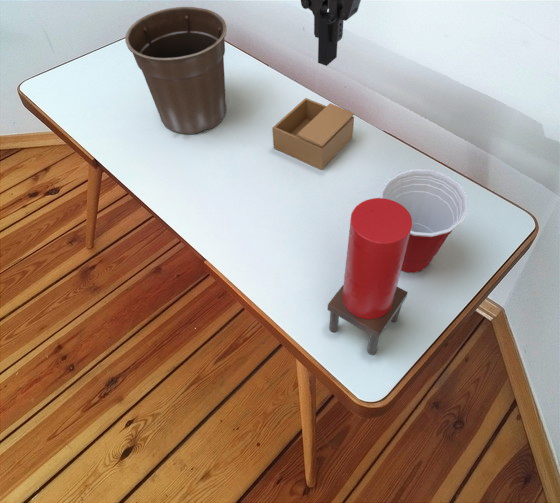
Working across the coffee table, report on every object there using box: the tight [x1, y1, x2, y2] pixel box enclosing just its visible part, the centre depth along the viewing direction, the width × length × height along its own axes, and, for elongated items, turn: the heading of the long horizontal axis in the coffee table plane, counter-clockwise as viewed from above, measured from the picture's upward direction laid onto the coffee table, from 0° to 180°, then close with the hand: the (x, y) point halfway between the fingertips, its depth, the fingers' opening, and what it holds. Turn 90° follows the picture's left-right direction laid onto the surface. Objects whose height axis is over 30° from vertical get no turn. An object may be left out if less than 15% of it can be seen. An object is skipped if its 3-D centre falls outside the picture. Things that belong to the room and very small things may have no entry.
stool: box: [327, 283, 409, 356], centre depth 64 cm, size 7×7×6 cm
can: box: [342, 197, 412, 319], centre depth 56 cm, size 6×6×14 cm
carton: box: [272, 97, 355, 171], centre depth 87 cm, size 10×10×4 cm
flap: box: [297, 102, 355, 147], centre depth 84 cm, size 5×10×1 cm, turn 144°
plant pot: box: [124, 6, 228, 135], centre depth 89 cm, size 16×16×16 cm
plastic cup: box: [379, 168, 469, 274], centre depth 68 cm, size 11×11×12 cm
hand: (327, 59), depth 75 cm, fingers closed
